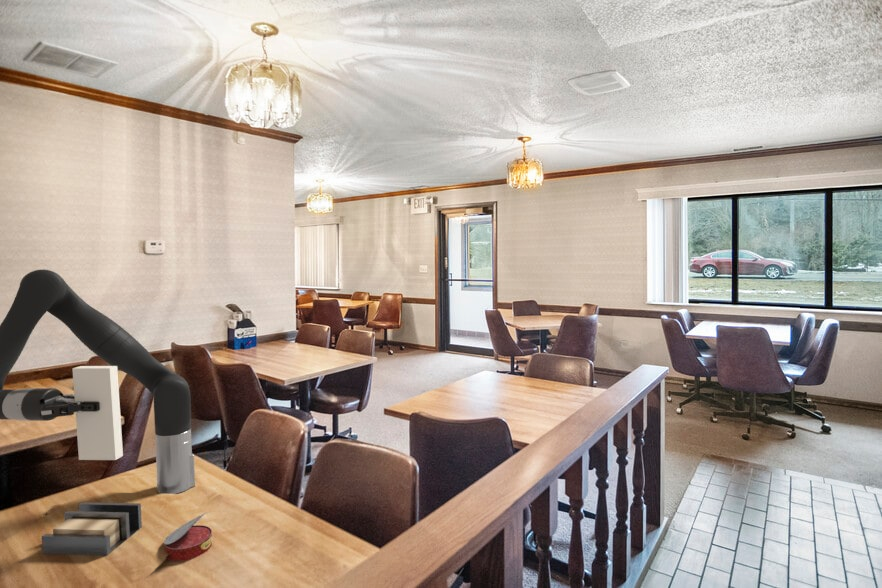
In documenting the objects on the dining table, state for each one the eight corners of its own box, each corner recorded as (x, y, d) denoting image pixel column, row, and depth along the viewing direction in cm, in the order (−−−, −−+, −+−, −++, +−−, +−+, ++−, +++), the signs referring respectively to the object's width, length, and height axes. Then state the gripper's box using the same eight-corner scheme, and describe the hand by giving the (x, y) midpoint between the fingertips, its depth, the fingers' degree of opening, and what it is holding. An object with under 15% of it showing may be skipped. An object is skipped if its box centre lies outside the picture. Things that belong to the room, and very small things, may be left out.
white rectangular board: (78, 459, 115) (72, 368, 113) (87, 455, 118) (80, 366, 116) (115, 460, 115) (109, 368, 113) (123, 455, 117) (117, 365, 115)
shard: (71, 525, 124) (71, 518, 124) (34, 532, 121) (33, 525, 121) (82, 506, 134) (81, 500, 134) (47, 512, 131) (47, 506, 130)
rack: (42, 560, 109) (41, 527, 108) (83, 531, 120) (81, 502, 120) (107, 561, 108) (106, 529, 108) (142, 532, 120) (140, 503, 119)
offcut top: (53, 539, 110) (52, 528, 110) (69, 528, 114) (69, 518, 114) (104, 540, 109) (104, 530, 109) (119, 529, 114) (118, 519, 114)
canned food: (185, 581, 108) (162, 554, 104) (167, 559, 115) (145, 533, 110) (229, 540, 115) (210, 513, 111) (210, 521, 122) (191, 495, 117)
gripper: (5, 397, 109) (79, 397, 108) (57, 381, 123) (123, 381, 122) (7, 430, 109) (81, 430, 108) (59, 410, 123) (125, 410, 122)
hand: (103, 404), depth 115 cm, fingers closed on white rectangular board, 2 cm apart
